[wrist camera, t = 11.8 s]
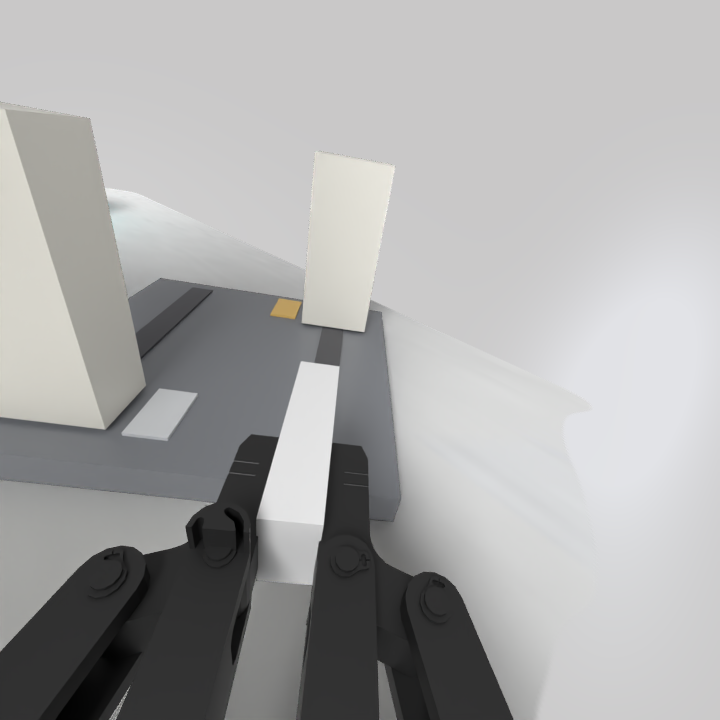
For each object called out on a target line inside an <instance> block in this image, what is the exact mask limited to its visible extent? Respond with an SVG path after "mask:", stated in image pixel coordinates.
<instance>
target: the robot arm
mask: <svg viewBox="0 0 720 720" xmlns="http://www.w3.org/2000/svg"><path fill="white" fill-rule="evenodd" d="M339 367H340V366H333V365H325V364H318V363H311V362H303V361H301V363H300V366H299V370H298V373H297V377H296V380H295V384H294V387H293V391H292V394H291V398H290V401H289V405H288V409H287V412H286V416H285V419H284V423H283V426H282V430H281V433H280V437H272V436H264V435H255V434H251V435H250V436H249V437H248V438H247V439H246V440H245V441H244V442H243V443H242V444H241V445H240V446H239V448H238V451H237V453H236V456H235V458H234V462H233V463H232V465H231V468H230V470H229V474H228V475H227V478H226V480H225V482H224V485H223V487H222V490H221V492H220V495H219V497H218V500H217V502H216V503H214V504H212V505H209V506H206V507H204V508H202V509H201V510H200V511H199V512H197V513H196V514H195V515H193V516H192V518H191V519H190V521H189V522H188V524H187V525H186V532H187V538H188V542H187V543H185V544H183V545H181V546H178V547H175V548H172V549H167V550H163V551H159V552H154V553H150V554H145V555H143V554H142V553H141V552H140V551H138V550H137V549H135V548H134V547H128V546H118V547H113V548H108V549H106V550H104V551H102V552H100V553H98V554H96V555H94V556H92V557H91V558H90V559H89V560H88V561H86V562H85V563H84V564H83V565H82V566H80V567H79V568H78V569H77V570H76V572H75V573H74V574H73V575H72V576H71V577H70V578H69V579H68V580H67V581H66V582H65V583H64V584H63V585H62V586H61V588H60V589H59V590H58V591H57V592H56V593H55V594H54V595H53V596H52V597H51V598H50V599H49V600H48V601H47V603H46V604H45V605H44V606H43V607H42V608H41V609H40V610H39V611H38V612H37V613H36V614H35V615H34V616H33V617H32V619H31V620H30V621H29V622H28V623H27V624H26V625H25V626H24V627H23V628H22V629H21V630H20V631H19V632H18V634H17V635H16V636H15V637H14V638H13V639H12V640H11V641H10V642H9V643H8V644H7V645H6V646H5V647H4V648H3V650H2V651H1V652H0V720H109V718H110V717H111V715H112V714H113V712H114V710H115V709H116V707H117V706H118V704H119V702H120V701H121V699H122V698H123V696H124V694H125V693H126V691H127V690H128V688H129V686H130V685H131V686H130V689H129V691H128V694H127V696H126V698H125V701H124V703H123V705H122V708H121V710H120V712H119V715H118V717H117V719H116V720H224V718H225V714H226V709H227V705H228V701H229V697H230V693H231V688H232V684H233V680H234V676H235V672H236V667H237V663H238V659H239V655H240V651H241V646H242V642H243V638H244V634H245V630H246V626H247V621H248V617H249V613H250V609H251V594H252V590H253V586H254V582H255V578H256V581H268V582H280V583H292V584H304V585H312V592H311V601H310V607H309V613H308V618H307V624H306V625H307V630H306V639H305V647H304V656H303V665H302V673H301V682H300V690H299V699H298V707H297V716H296V720H379V698H378V664H377V660H379V661H380V662H382V663H384V664H385V668H386V673H387V677H388V682H389V686H390V691H391V695H392V699H393V704H394V708H395V713H396V717H397V720H513V717H512V715H511V712H510V710H509V708H508V705H507V703H506V701H505V698H504V696H503V694H502V691H501V689H500V687H499V684H498V682H497V679H496V677H495V675H494V672H493V670H492V668H491V665H490V663H489V661H488V658H487V656H486V653H485V651H484V649H483V646H482V644H481V642H480V639H479V637H478V635H477V632H476V630H475V628H474V625H473V623H472V620H471V618H470V616H469V613H468V611H467V609H466V606H465V604H464V602H463V599H462V597H461V596H460V594H459V592H458V591H457V589H456V587H455V586H454V585H453V584H452V583H451V582H450V581H449V580H448V579H446V578H445V577H443V576H441V575H439V574H437V573H435V572H423V573H420V574H418V575H416V576H414V577H413V576H411V575H409V574H406V573H404V572H402V571H400V570H398V569H396V568H393V567H392V566H390V565H388V564H387V563H385V562H384V561H383V560H382V559H381V558H380V557H379V556H378V554H377V553H376V551H375V550H374V548H373V545H372V543H371V539H370V523H369V488H368V487H369V476H368V458H367V456H366V454H365V452H364V450H363V448H362V446H357V445H348V444H340V443H332V437H333V427H334V417H335V407H336V397H337V387H338V377H339ZM131 683H132V684H131Z"/></svg>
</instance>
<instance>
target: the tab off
mask: <svg viewBox="0 0 720 720" xmlns="http://www.w3.org/2000/svg"><path fill="white" fill-rule="evenodd" d="M145 386H146V383H145V378H144V373H143V368H142V363H141V359H140V354H139V349H138V344H137V340H136V335H135V330H134V325H133V321H132V316H131V311H130V306H129V302H128V297H127V292H126V287H125V283H124V278H123V273H122V268H121V264H120V259H119V254H118V249H117V245H116V240H115V235H114V230H113V226H112V221H111V216H110V211H109V206H108V202H107V197H106V192H105V187H104V183H103V178H102V173H101V169H100V164H99V159H98V155H97V149H96V145H95V140H94V135H93V131H92V126H91V121H90V118H85V117H80V116H74V115H69V114H63V113H58V112H53V111H47V110H42V109H36V108H31V107H25V106H20V105H15V104H9V103H4V102H0V417H4V418H12V419H21V420H29V421H37V422H46V423H54V424H62V425H71V426H79V427H87V428H96V429H104V430H106V428H107V427H108V426H109V425H110V424H111V423H112V422H113V421H114V420H115V419H116V418H117V417H118V415H119V414H120V413H121V412H122V411H123V410H124V409H125V408H126V407H127V406H128V405H129V403H130V402H131V401H132V400H133V399H134V398H135V397H136V396H137V395H138V394H139V393H140V392H141V390H142V389H143V388H144V387H145Z"/></svg>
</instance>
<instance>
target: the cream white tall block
mask: <svg viewBox="0 0 720 720" xmlns="http://www.w3.org/2000/svg"><path fill="white" fill-rule="evenodd" d="M394 171H395V166H394V165H392V164H387V163H382V162H376V161H370V160H365V159H360V158H354V157H349V156H344V155H339V154H333V153H328V152H322V151H316V152H315V157H314V171H313V184H312V196H311V209H310V210H311V211H310V221H309V234H308V248H307V260H306V273H305V286H304V299H303V312H302V323H305V324H312V325H318V326H325V327H332V328H339V329H345V330H352V331H359V332H364V331H365V326H366V321H367V315H368V310H369V305H370V299H371V294H372V288H373V283H374V278H375V272H376V267H377V262H378V256H379V251H380V245H381V240H382V234H383V229H384V224H385V219H386V214H387V208H388V203H389V198H390V192H391V186H392V181H393V176H394Z"/></svg>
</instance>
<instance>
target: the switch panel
mask: <svg viewBox="0 0 720 720" xmlns="http://www.w3.org/2000/svg"><path fill="white" fill-rule="evenodd" d="M128 302H129V306H130V311H131V316H132V321H133V325H134V330H135V335H136V340H137V344H138V349H139V354H140V359H141V363H142V368H143V373H144V378H145V383H146V386H145V387H144V388H143V389H142V390H141V392H140V393H139V394H138V395H137V396H136V397H135V398H134V399H133V400H132V401H131V402H130V403H129V405H128V406H127V407H126V408H125V409H124V410H123V411H122V412H121V413H120V414H119V415H118V417H117V418H116V419H115V420H114V421H113V422H112V423H111V424H110V425H109V426H108V427H107V428H106V430H104V429H96V428H87V427H79V426H71V425H62V424H54V423H46V422H37V421H29V420H21V419H12V418H4V417H0V479H1V480H11V481H20V482H29V483H39V484H48V485H57V486H67V487H76V488H85V489H95V490H104V491H113V492H123V493H132V494H141V495H151V496H160V497H169V498H179V499H188V500H197V501H206V502H217V500H218V497H219V495H220V492H221V490H222V487H223V485H224V482H225V480H226V478H227V475H228V474H229V470H230V468H231V465H232V463H233V462H234V458H235V456H236V453H237V451H238V448H239V446H240V445H241V444H242V443H243V442H244V441H245V440H246V439H247V438H248V437H249V436H250V435H251V434H255V435H264V436H272V437H280V433H281V430H282V426H283V423H284V419H285V416H286V412H287V409H288V405H289V401H290V398H291V394H292V391H293V387H294V384H295V380H296V377H297V373H298V370H299V366H300V363H301V361H303V362H311V363H318V364H325V365H333V366H340V367H339V377H338V387H337V397H336V407H335V417H334V427H333V437H332V443H340V444H348V445H357V446H362V448H363V450H364V452H365V454H366V456H367V458H368V476H369V487H368V488H369V519H374V520H384V521H393V520H394V517H395V515H396V512H397V509H398V506H399V503H400V500H401V494H400V484H399V475H398V465H397V456H396V446H395V436H394V427H393V417H392V408H391V398H390V389H389V379H388V370H387V360H386V351H385V341H384V331H383V322H382V312H378V311H372V310H368V315H367V321H366V326H365V331H364V332H359V331H352V330H345V329H339V328H332V327H325V326H318V325H312V324H305V323H302V312H303V300H300V299H293V298H287V297H280V296H274V295H267V294H261V293H254V292H248V291H241V290H235V289H228V288H222V287H215V286H209V285H202V284H196V283H189V282H182V281H176V280H169V279H163V278H160V279H159V280H157V281H155V282H154V283H152V284H151V285H149V286H148V287H146V288H144V289H143V290H141V291H140V292H138V293H137V294H135V295H133V296H132V297H130V298H129V299H128Z"/></svg>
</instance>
